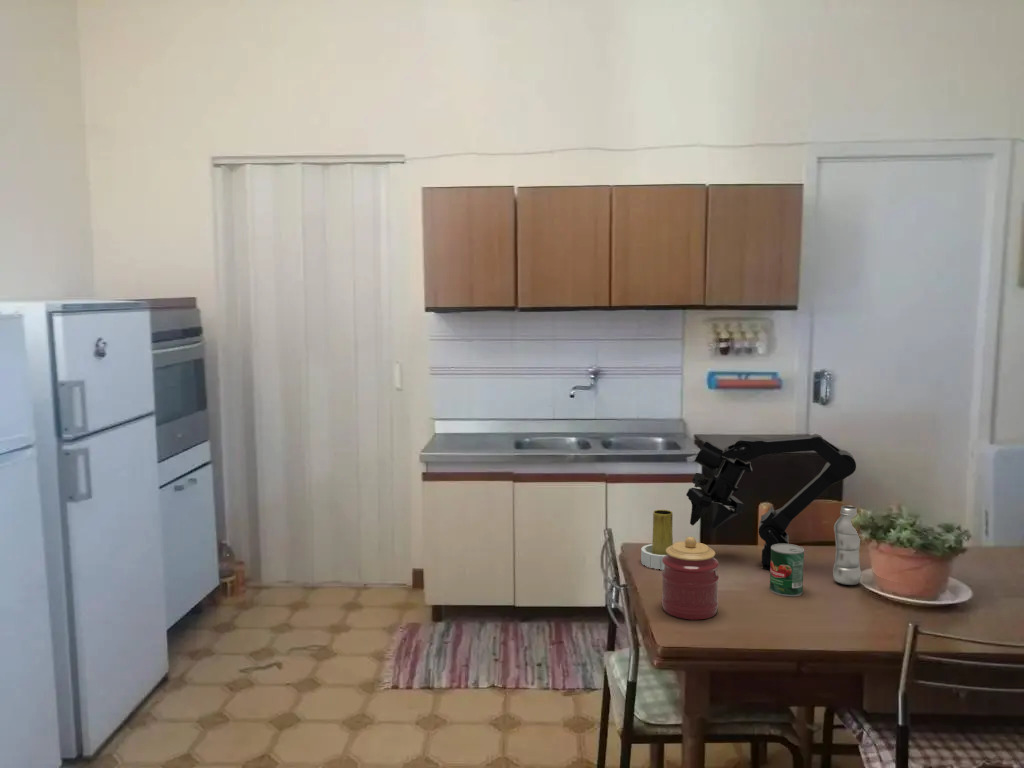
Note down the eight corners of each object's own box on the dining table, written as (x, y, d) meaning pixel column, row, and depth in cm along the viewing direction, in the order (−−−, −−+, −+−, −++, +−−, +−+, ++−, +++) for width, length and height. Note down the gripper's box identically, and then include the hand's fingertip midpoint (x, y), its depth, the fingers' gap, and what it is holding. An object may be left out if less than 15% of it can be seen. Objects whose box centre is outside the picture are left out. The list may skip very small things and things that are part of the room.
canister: (677, 623, 172) (678, 547, 170) (652, 602, 184) (652, 531, 183) (728, 617, 175) (730, 542, 174) (700, 596, 188) (701, 527, 186)
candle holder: (686, 560, 215) (686, 547, 214) (675, 572, 205) (675, 558, 205) (648, 554, 220) (648, 541, 220) (636, 566, 210) (636, 552, 210)
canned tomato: (765, 592, 191) (766, 549, 190) (775, 582, 197) (776, 541, 196) (797, 599, 186) (798, 555, 185) (807, 589, 192) (808, 547, 191)
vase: (672, 566, 209) (673, 515, 207) (650, 564, 210) (650, 514, 209) (674, 559, 215) (674, 509, 213) (652, 557, 216) (652, 508, 215)
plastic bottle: (865, 588, 193) (868, 510, 191) (838, 588, 193) (840, 510, 191) (854, 579, 199) (857, 504, 197) (828, 579, 199) (830, 504, 197)
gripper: (729, 469, 222) (705, 514, 226) (686, 459, 212) (662, 507, 215) (756, 488, 214) (730, 535, 217) (713, 479, 203) (687, 529, 207)
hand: (702, 526), depth 214 cm, fingers open, 9 cm apart
